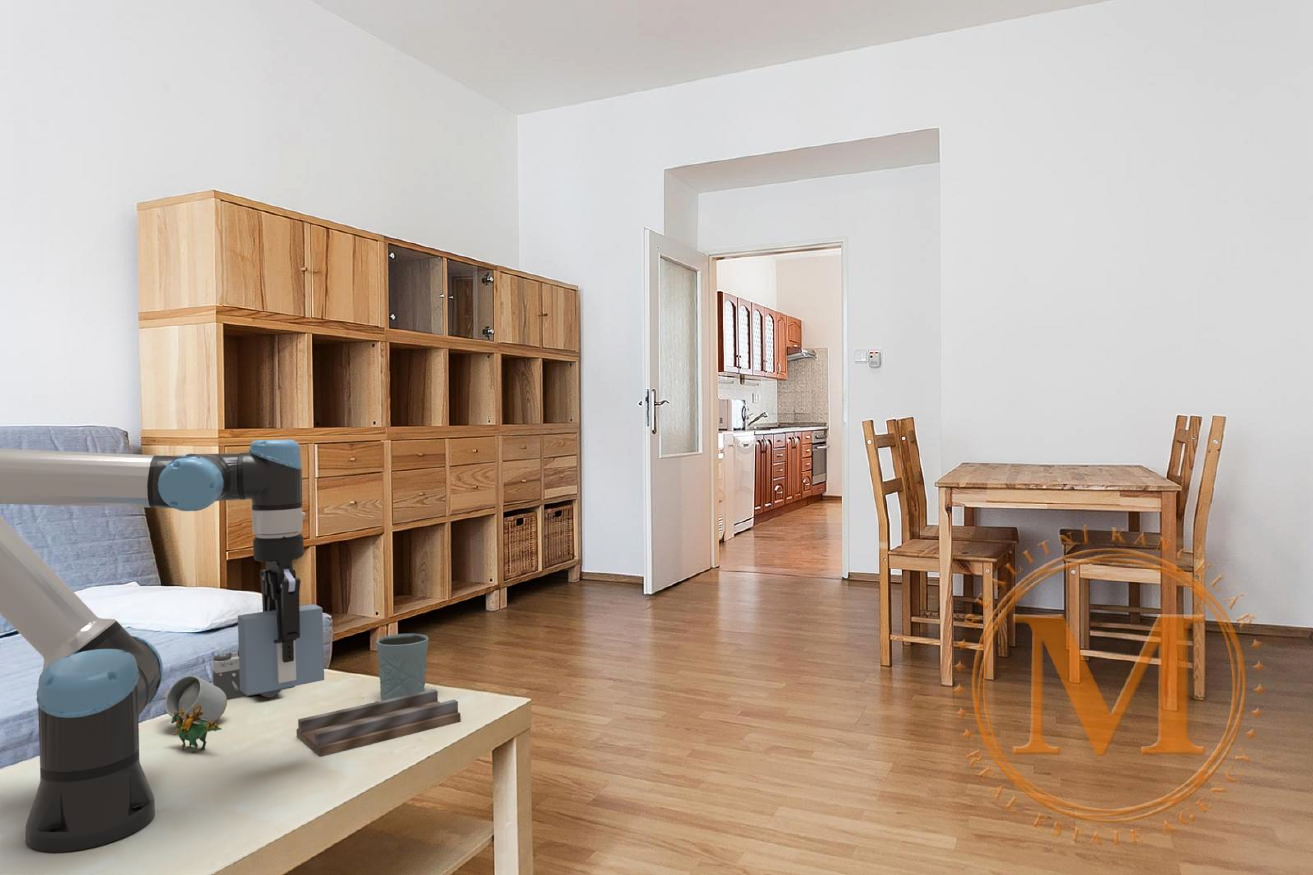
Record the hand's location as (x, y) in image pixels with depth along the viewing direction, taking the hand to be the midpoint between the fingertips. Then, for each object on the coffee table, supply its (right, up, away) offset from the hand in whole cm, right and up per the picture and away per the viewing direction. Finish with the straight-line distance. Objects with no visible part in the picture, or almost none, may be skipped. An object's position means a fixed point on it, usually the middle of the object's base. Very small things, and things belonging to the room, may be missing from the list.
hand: (282, 677), depth 142 cm
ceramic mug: (-26, -15, +20) cm, 36 cm away
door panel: (0, -1, 0) cm, 1 cm away
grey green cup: (+9, -14, +36) cm, 40 cm away
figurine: (-18, -15, +8) cm, 25 cm away
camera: (-21, -15, +37) cm, 45 cm away
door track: (+10, -14, +18) cm, 25 cm away
